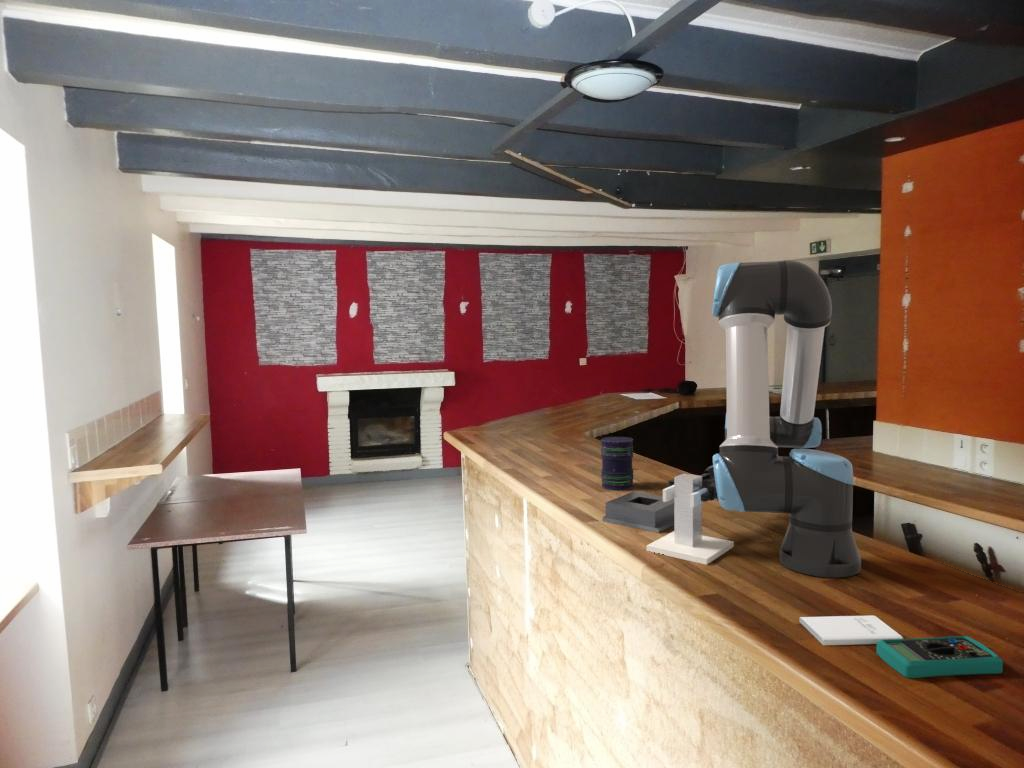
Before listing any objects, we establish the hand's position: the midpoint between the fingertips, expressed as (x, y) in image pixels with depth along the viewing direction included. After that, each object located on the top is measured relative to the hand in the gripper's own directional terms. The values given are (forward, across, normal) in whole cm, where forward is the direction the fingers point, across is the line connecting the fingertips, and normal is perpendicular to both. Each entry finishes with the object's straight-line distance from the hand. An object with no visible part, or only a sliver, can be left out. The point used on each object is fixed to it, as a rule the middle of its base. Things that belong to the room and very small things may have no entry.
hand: (678, 498), depth 142 cm
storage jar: (-42, +43, -13) cm, 62 cm away
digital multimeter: (+19, -51, -12) cm, 56 cm away
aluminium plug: (-4, 0, -11) cm, 12 cm away
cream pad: (-4, -1, -12) cm, 13 cm away
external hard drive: (+16, -39, -13) cm, 44 cm away
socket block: (-20, +18, -13) cm, 30 cm away
